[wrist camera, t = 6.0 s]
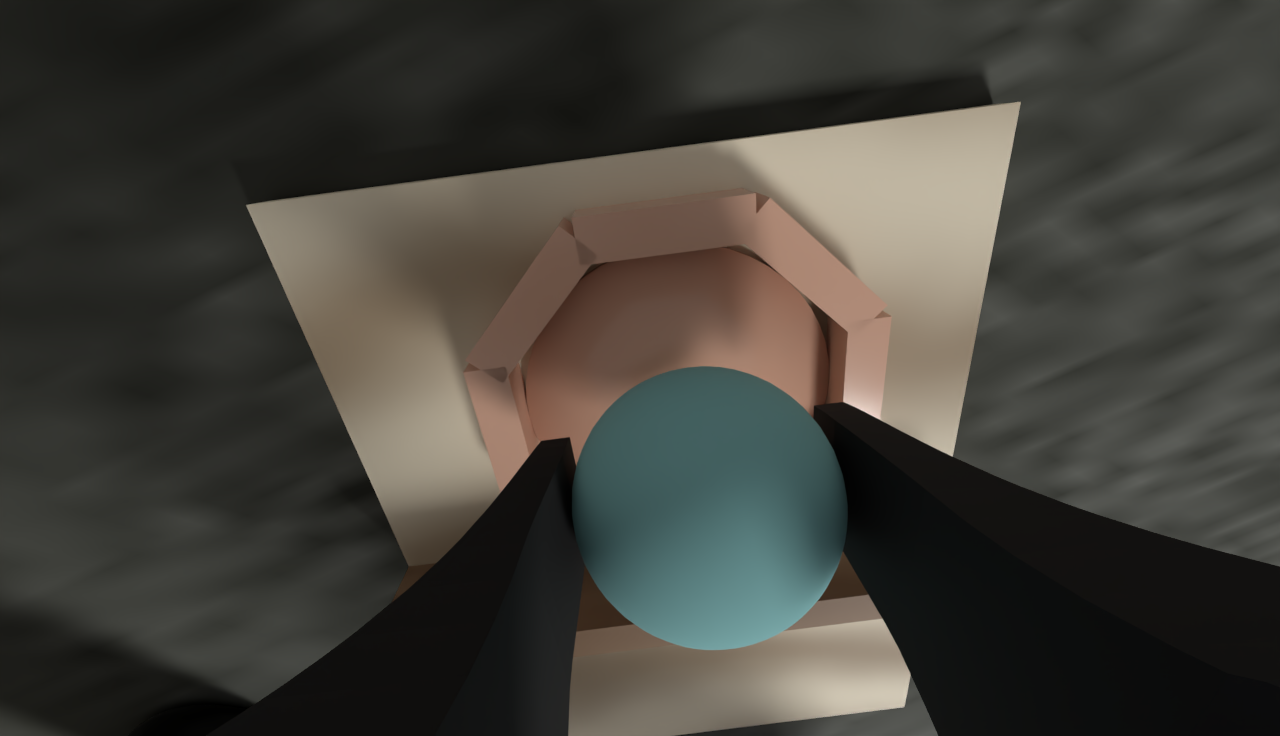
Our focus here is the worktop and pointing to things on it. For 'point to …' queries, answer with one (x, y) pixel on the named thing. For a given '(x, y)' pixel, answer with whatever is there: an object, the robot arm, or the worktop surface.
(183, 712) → the supplement bottle
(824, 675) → the board
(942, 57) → the worktop surface
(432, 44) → the worktop surface
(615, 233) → the saucer
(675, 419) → the ball
